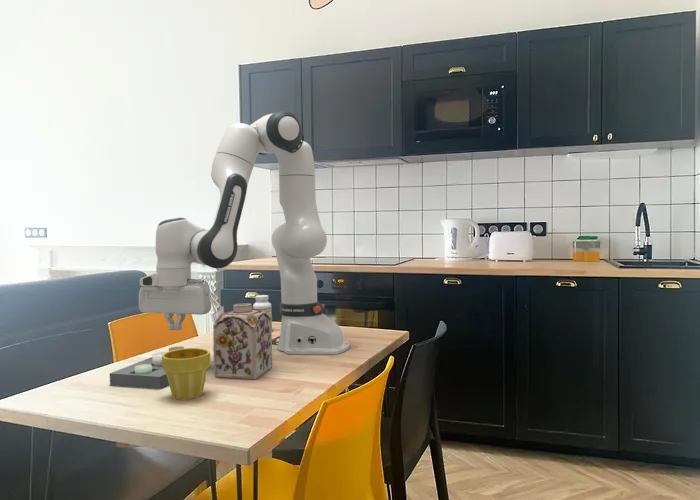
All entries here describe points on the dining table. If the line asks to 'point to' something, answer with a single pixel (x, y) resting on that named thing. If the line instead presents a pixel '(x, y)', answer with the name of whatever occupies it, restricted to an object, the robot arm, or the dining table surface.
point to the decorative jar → (242, 343)
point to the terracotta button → (175, 348)
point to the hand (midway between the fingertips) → (175, 329)
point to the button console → (140, 377)
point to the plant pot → (186, 371)
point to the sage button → (143, 369)
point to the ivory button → (157, 359)
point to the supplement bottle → (263, 305)
